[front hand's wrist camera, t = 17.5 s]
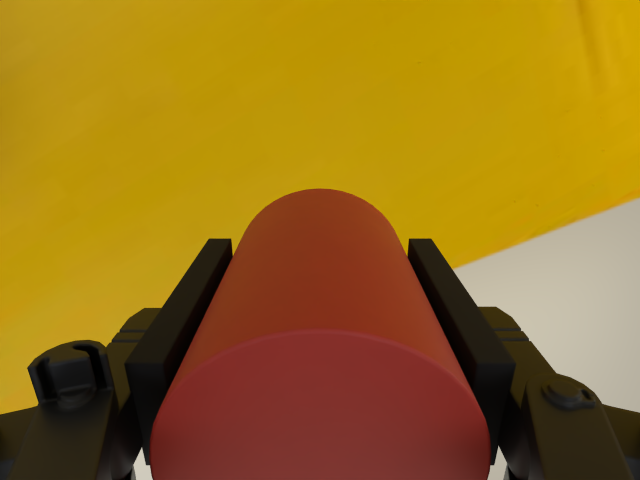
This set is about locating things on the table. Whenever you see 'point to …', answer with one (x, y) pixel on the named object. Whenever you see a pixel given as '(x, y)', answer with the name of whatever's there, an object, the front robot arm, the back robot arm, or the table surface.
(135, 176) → the table surface
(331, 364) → the can
